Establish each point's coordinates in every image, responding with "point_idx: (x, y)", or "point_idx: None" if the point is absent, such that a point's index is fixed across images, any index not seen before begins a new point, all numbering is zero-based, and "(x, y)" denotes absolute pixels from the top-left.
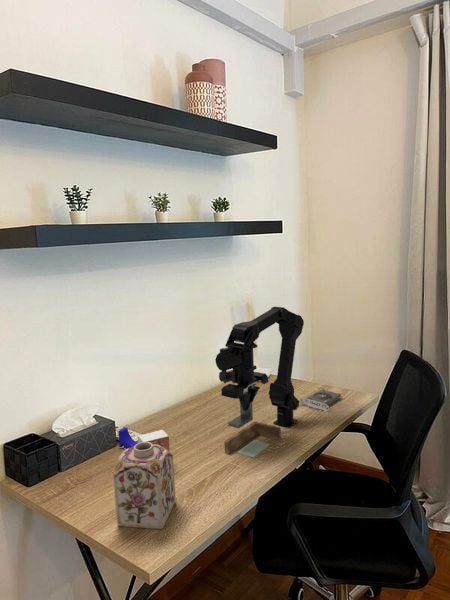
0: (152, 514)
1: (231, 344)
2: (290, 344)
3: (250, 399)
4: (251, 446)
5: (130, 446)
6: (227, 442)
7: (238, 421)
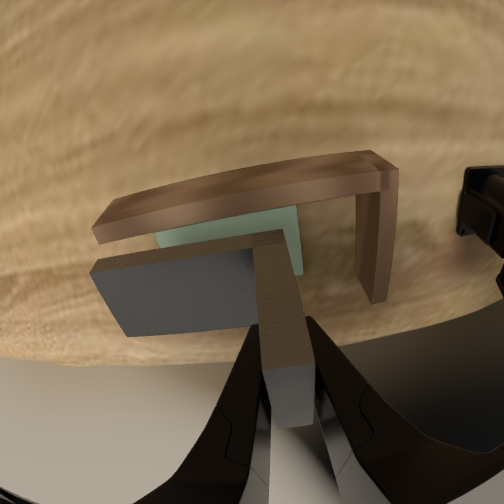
0: None
1: None
2: None
3: (325, 428)
4: None
5: None
6: (99, 244)
7: (159, 308)
